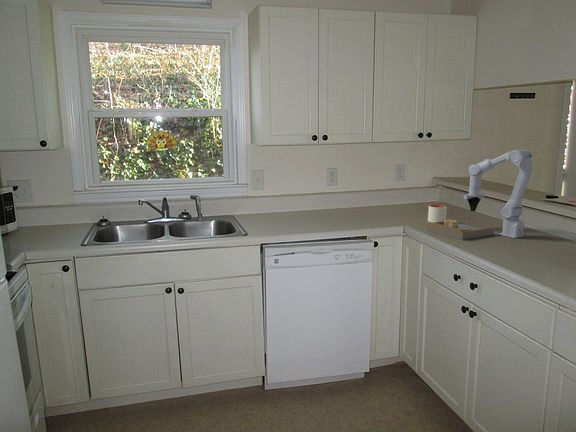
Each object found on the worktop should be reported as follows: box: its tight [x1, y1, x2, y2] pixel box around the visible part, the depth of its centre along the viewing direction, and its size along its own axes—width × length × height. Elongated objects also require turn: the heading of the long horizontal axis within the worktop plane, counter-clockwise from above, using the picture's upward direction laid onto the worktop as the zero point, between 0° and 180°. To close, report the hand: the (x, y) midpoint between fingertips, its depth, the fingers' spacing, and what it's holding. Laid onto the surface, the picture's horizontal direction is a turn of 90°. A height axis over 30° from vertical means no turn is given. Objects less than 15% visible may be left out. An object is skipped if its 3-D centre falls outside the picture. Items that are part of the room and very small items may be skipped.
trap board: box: [425, 218, 495, 241], centre depth 255 cm, size 24×24×5 cm
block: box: [444, 219, 460, 228], centre depth 251 cm, size 5×5×5 cm
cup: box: [427, 204, 448, 223], centre depth 278 cm, size 10×10×10 cm
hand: (472, 211), depth 265 cm, fingers closed
